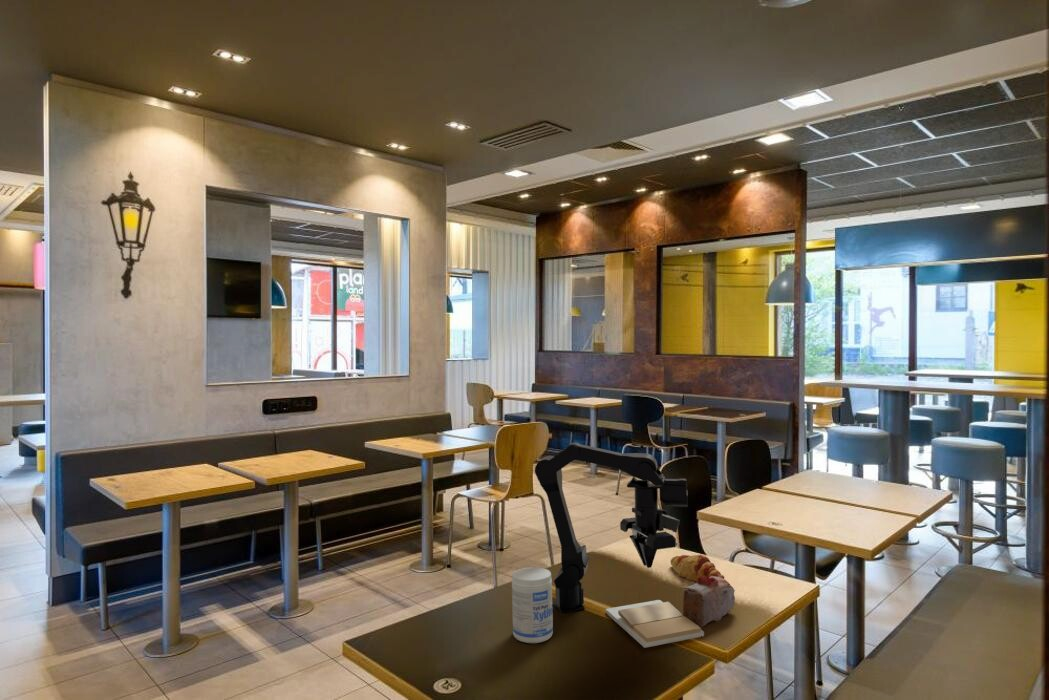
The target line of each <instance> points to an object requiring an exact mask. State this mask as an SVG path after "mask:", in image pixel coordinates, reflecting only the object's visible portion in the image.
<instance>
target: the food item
mask: <svg viewBox="0 0 1049 700" xmlns="http://www.w3.org/2000/svg"><path fill="white" fill-rule="evenodd" d="M697 580H698V582H696V583H694V584H692V585H689V586H687V587H685V588H683V595H682V596H683V597H682V598H683V600H682V601H683V602H682V611H683V612H682V613H683V615H684V616H685V617H686V618H688V619H689V620H691V621H692V622H693V623H695V624H696V625H698V626H699V627H700V626H702V627H701V628H703V627H705V626H706V625H707V624H709V623H711V622H712V621H715V622H719V620H720V621H721V620H722V619H723V617H724V616H726V615H727V613H730V612H731V610H733V609H734V607H735V605H736V603H735V601H736V598H735V597H736V596H735V591H736V589H734V587H733V586H732V585H731V583H730V582H729V581H727V579H725V578H724V579H723V578H721V577H716V576H710V577H709V576H708V577H706V576H703V577H702V576H700V577H699V578H697Z"/></svg>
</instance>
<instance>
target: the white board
mask: <svg viewBox="0 0 1049 700" xmlns="http://www.w3.org/2000/svg"><path fill="white" fill-rule="evenodd" d="M663 602H664V601H662V600H660V599H655V600H650V601H644V602H639V603H633V604H625V605H622V606H621V605H620V606H615V607H610V608H605V614H607V616H608V617H610V618H611V619H612V620H613V621H614V622H615V623H616V624H617V625H619V626H620V627H621V628H622V629H623V630H624V631H625V632H627V633H628V634H629V635H630V636H631V637H632V638H633V639H634V640H635V641H636V642H637V643H639V644H640V645H641V646H642V647H643V648H644V649H645V648H650V647H656V646H660V645H665V644H671V643H675V642H681V641H685V640H686V641H687V640H692V639H696V638H697V639H698V638H701V636H702V637H704V636H705V631H704V630H702V627H700V626H699V625H696V624H695V623H693V622H692V621H691V620H689V619H688V618H686V617H685V616H683V617H677V618H672V619H667V620H661V621H656V622H650V623H645V624H639V625H634V626H633V629H631V628H630V626H629V625H628V624H627V623H626V622H625V621H624V620H623V619H622V618H621V617H620V615H619V614H618V610H623V609H628V608H634V607H640V606H646V605H652V604H657V603H663Z"/></svg>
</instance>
